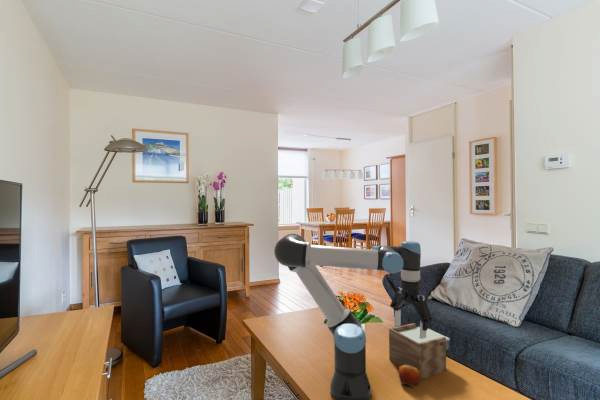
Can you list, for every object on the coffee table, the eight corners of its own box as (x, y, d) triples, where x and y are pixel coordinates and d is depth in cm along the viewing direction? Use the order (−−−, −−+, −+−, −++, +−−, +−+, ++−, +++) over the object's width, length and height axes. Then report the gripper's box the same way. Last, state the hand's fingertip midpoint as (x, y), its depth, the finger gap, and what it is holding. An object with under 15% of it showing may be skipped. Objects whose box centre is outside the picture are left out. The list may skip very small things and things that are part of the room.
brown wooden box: (420, 380, 128) (420, 345, 128) (388, 359, 146) (388, 328, 146) (447, 371, 134) (446, 338, 134) (413, 352, 152) (413, 322, 152)
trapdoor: (419, 358, 131) (418, 346, 131) (393, 343, 145) (393, 332, 145) (449, 349, 138) (449, 338, 138) (423, 336, 152) (422, 326, 152)
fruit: (395, 384, 123) (397, 361, 127) (399, 385, 129) (400, 364, 133) (417, 389, 120) (419, 366, 123) (420, 391, 126) (421, 368, 129)
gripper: (442, 286, 123) (441, 341, 123) (395, 272, 145) (394, 319, 145) (428, 288, 119) (428, 345, 119) (382, 274, 141) (381, 322, 141)
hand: (409, 331), depth 132 cm, fingers open, 13 cm apart
